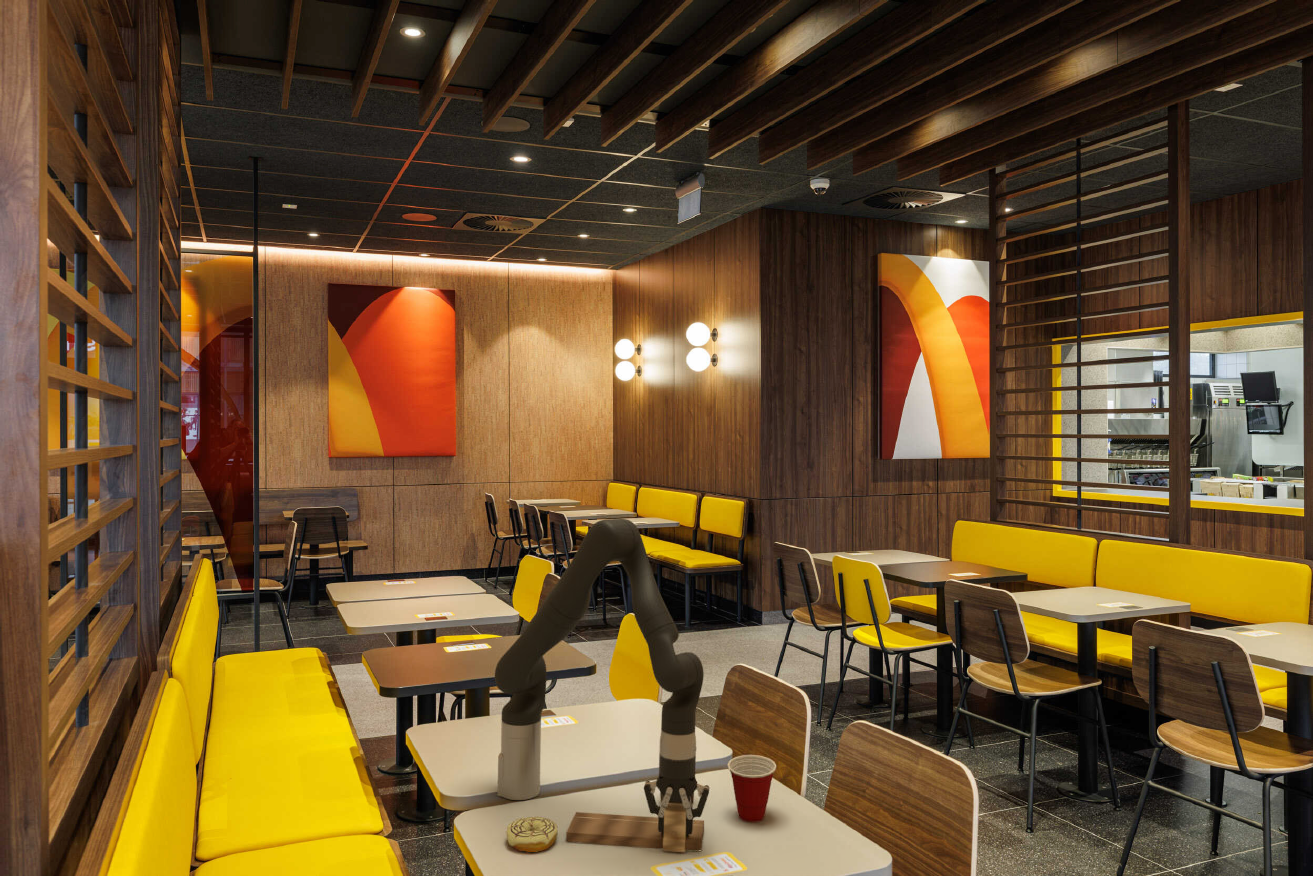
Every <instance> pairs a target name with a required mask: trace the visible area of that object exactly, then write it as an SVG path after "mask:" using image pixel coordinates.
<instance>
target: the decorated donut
mask: <svg viewBox="0 0 1313 876" xmlns="http://www.w3.org/2000/svg"><path fill="white" fill-rule="evenodd" d="M505 834H506V838H507V842H508V844H509V845H510V846H511V847H513V848H514V849H515V850H517V849H518V850H521V851H520V852H522V851H526V852H525V853H529V852H536V853H538V852H537V851H540V852H542V851H546V850H547V849H549V848H551V846H552V845H553V844H554V843H555V841H556V840H557V837H558V834H559V833H558V825H557V823H556V822H554V821H553V820H551V819H550V818H546V817H542V816H533V817H532V816H529V817H523V818H518V819H516V820H514V821H513V822H511V823H510V824H509V825H507V827H506V831H505ZM518 850H517V851H518Z"/></svg>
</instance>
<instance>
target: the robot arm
mask: <svg viewBox="0 0 1313 876" xmlns="http://www.w3.org/2000/svg"><path fill="white" fill-rule="evenodd" d="M612 562H619V563H620V564H621V565H622V567H623V569H624V571H625V573H626V574H627V577H628V579H629V583H630V587H631V599H632V600H631V602H632V603H631V604H632V610H633V614H634V619H635V620H636V623H637V626H638V627H639V630H640V632H641V634H642V636H643V638H644V640H645V643H646V644H647V646H648V647H647V648H648V653H649V659H650V664H651V668H652V673H653V676H654V678H655V681H656V682H657V684H658V685H659V686H660V687H661V688H662V689H663V690H664V691H665V692H668V693H671V695H670V697H669V698H668V699H667V700H665V702H664V703H662V707H661V708H662V709H661V720H660V721H661V725H660V727H661V728H660V738H659V751H658V752H659V756H658V757H659V758H658V777H657V778H656V780H653V781H649V780H646V781H645V783H644V786H643V791H644V794H645V798H646V799H645V800H646V803H647V806H648V809H649V810H648V811H649V812H650V814H652V815H653V814H654V815H656V816H657V817H658V831H659V832H661V835H664V810H665V809H666V808H667V805H668V803H669V802H679V803H683V806H684V809H685V811H686V816H687V817H686V837H689V834H692V830H693V820H694V819H695V818H701V817H702V815H703V812H704V809H705V807H706V803H707V800H708V797H709V794H710V786H709V785H708V784H706V785H702V784H700V783H698V781H697V778H696V763H697V762H696V759H697V756H696V755H697V753H696V752H697V736H696V720H697V719H696V718H697V717H696V714H697V713H696V712H697V706H698V704H699V699H700V696H701V692H702V688H703V682H704V674H705V673H704V666H703V663H702V661H701V659H700V658H699V656H698V655H696V654H695V653H694V652H689V651H687V652H681V653H677V654H676V652H675V648H674V643H676V642H677V641H678V639H679V637H680V633H679V630H678V628H677V626H676V624H675V621H674V620H673V617H672V615H671V614H670V611H669V610H668V608H667V605H666V603H665V601H664V599H663V597H662V595H661V593H660V590H659V587H658V585H657V581H656V579H655V575H654V572H653V570H652V569H653V568H652V566H651V564H650V560H649V556H648V553H647V551H646V548H645V545H644V541H643V539H642V536H641V533H640V531H639V529H638V527H637V526H636V524H635V523H634V522H633V521H631V520H630V519H626V518H611V519H610V518H608V519H602V520H601V519H600V520H598V521H596V522H594V523H593V524H592V526H591V527H590V528H589V529H588V531H586V533H585V536H584V537H583V538H582V541H581V544H580V545H579V547H578V549H577V551H576V553H575V554H574V556H573V558H572V560H571V561H570V564H569V565H568V566H567V567H566V568H565V571H564V572H563V573H562V575H561V576H560V578H559V579H558V581H557V582H556V583H555V585H554V587H553V588H552V589H551V590H550V591H549V592H548V594H547V596H546V597H545V599H544V601H542V603H541V605H540V607H539V608H538V610H537V611H536V613H535V614H534V616H533V617H532V619H531V620H530V621H529V622H528V624H527V626H526V627H525V629H524V630H523V632H522V633H521V634H520V635H519V637H518V638H517V639H516V641H514V643H513V644H512V645H511V646H510V648H509V649H508V650H507V651H505V653H504V654H503V655H502V656H501V658H500V659H499V660H498V662H497V663H496V666H495V670H494V682H495V685H496V687H497V688H498V690H499V691H500V692H501V693H503V694H506V695H511V696H512V697H510V699H509V700H508V702H507V703H505V705H504V706H503V707H502V709H501V722H500V723H501V731H500V732H501V735H500V739H501V740H500V753H498V757H497V758H498V759H497V797H502V798H504V799H506V800H513V801H524V800H529V799H533V798H535V797H537V796H538V795H539V794H540V793H541V753H542V752H541V751H542V750H541V744H542V743H541V742H542V735H541V734H542V712H543V711H544V708H545V703H546V690H547V674H548V673H547V664H546V661H545V658H544V655H546V654H547V653H548V652H549V651H550V650H552V649H553V648H554V647H556V646H557V645H558V644H560V643H561V642H562V641H563V640H564V639H566V638H567V636H569V635H570V634H571V632H573V631H574V629H575V628H577V625H578V624H579V623H580V621H581V619H583V617H584V616H585V614H586V613H587V611H588V609H589V607H590V603H591V595H592V589H593V588H592V587H593V584H594V582H595V581H596V580H597V578H598V576H599V575H600V574H601V572H602V571H603V570H604V569H605V568H606V566H608V565H609V564H610V563H612ZM656 788H657V789H658V790H659V793H660V792H661V794H662V795H663V800H662V802H661V804H660V806H659V805H657V802H656V798H655V791H656ZM696 790H697V796H698V797H699V801H698V803H697V806H696V807H695V808H693V804H691V799H690V796H691V795H692V794H693V793H694V794H695V791H696Z"/></svg>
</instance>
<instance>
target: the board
mask: <svg viewBox="0 0 1313 876" xmlns="http://www.w3.org/2000/svg"><path fill="white" fill-rule="evenodd" d="M704 831H705V820H703V819H700V820H699V819H693V830H692V834H689V837H686V839H685V851H688V850H701V851H702V848H703V841H702V840H704V834H705V833H704ZM663 838H664V835H661V832H659V831H658V816H657V817H655V816H642V815H641V816H640V815H638V816H637V815H628V814H627V815H624V814H612V813H611V814H610V813H597V812H595V813H594V812H580V811H579V812H578V811H576V812H575V813H574V815H573V818H572V820H571V822H570V824H569V826H568V828H567V830H566V835H565V842H566V841H567V842H566V843H574V842H581V843H580V844H589V843H593V844H592V845H603V844H605V845H607V846H621V847H633V848H648V849H662V850H663Z"/></svg>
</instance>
